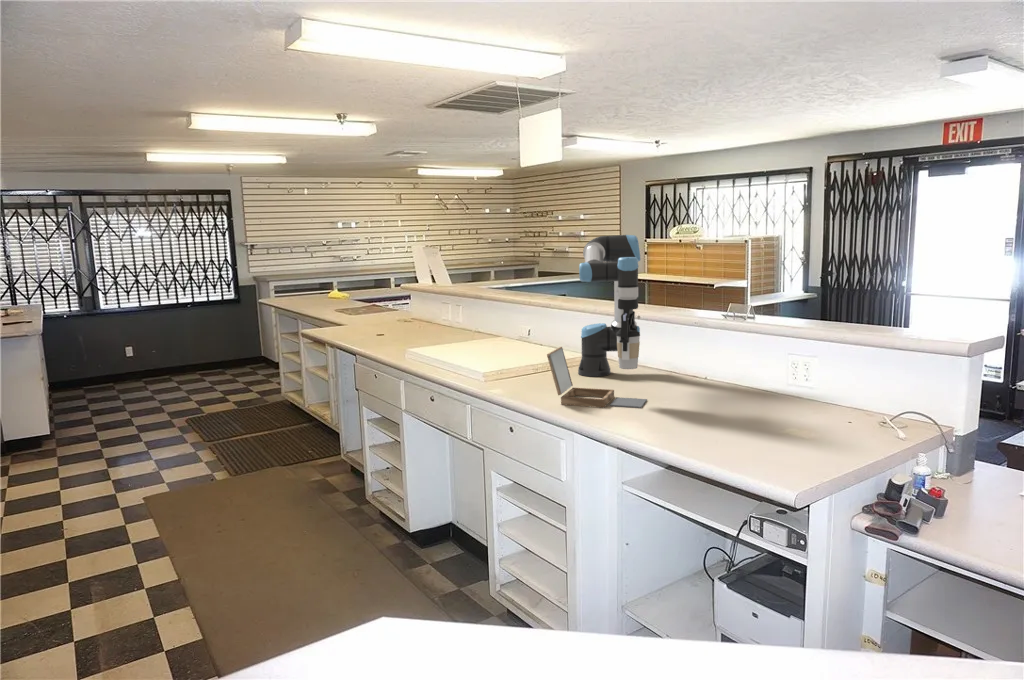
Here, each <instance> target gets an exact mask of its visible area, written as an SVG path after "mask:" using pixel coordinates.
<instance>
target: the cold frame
mask: <svg viewBox="0 0 1024 680" xmlns="http://www.w3.org/2000/svg"><path fill="white" fill-rule="evenodd" d="M575 396H578V397H575ZM582 396H583V397H582ZM593 396H595V397H597V398H595V397H594V398H593ZM591 397H592V398H591ZM614 398H615V389H607V388H590V387H589V388H588V387H572V388H571V389H568V390H567V392H566V393H563V395H561V397H560V403H561V404H560V405H561V406H573V407H588V406H591V407H590V408H603V407H604V408H605V407H606V406H607V405H608V404H609V403H610V402H612V401H613V400H614Z"/></svg>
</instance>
